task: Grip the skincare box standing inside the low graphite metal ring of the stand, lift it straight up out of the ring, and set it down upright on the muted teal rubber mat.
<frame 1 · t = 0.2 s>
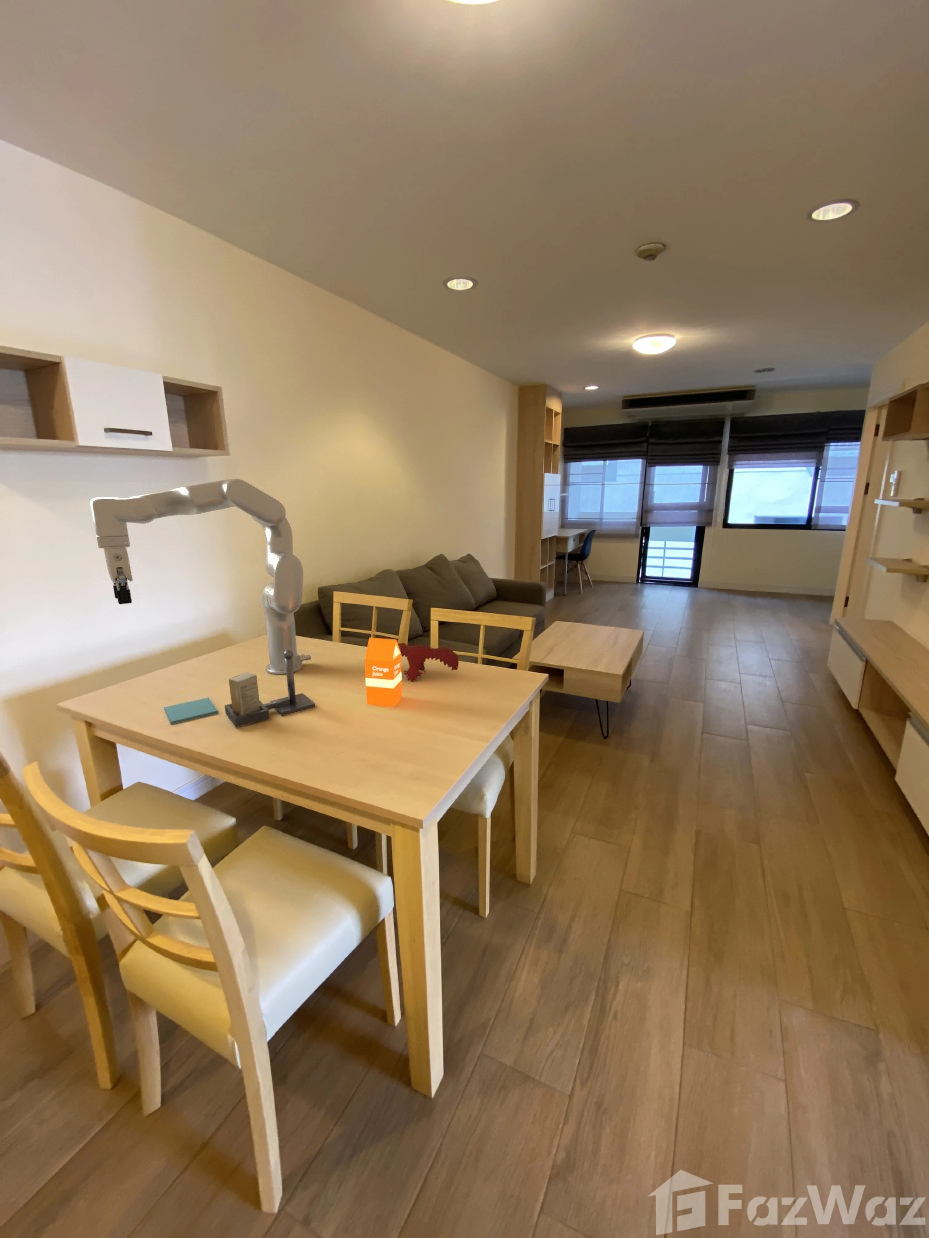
hand: (123, 600, 147), 31 cm above the table, fingers open, 9 cm apart
orange juice: (384, 701, 155), on the table
ring stand: (247, 717, 142), on the table
teal mat: (190, 711, 146), on the table
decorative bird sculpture: (418, 676, 176), on the table
skincare box: (247, 717, 142), resting in ring stand
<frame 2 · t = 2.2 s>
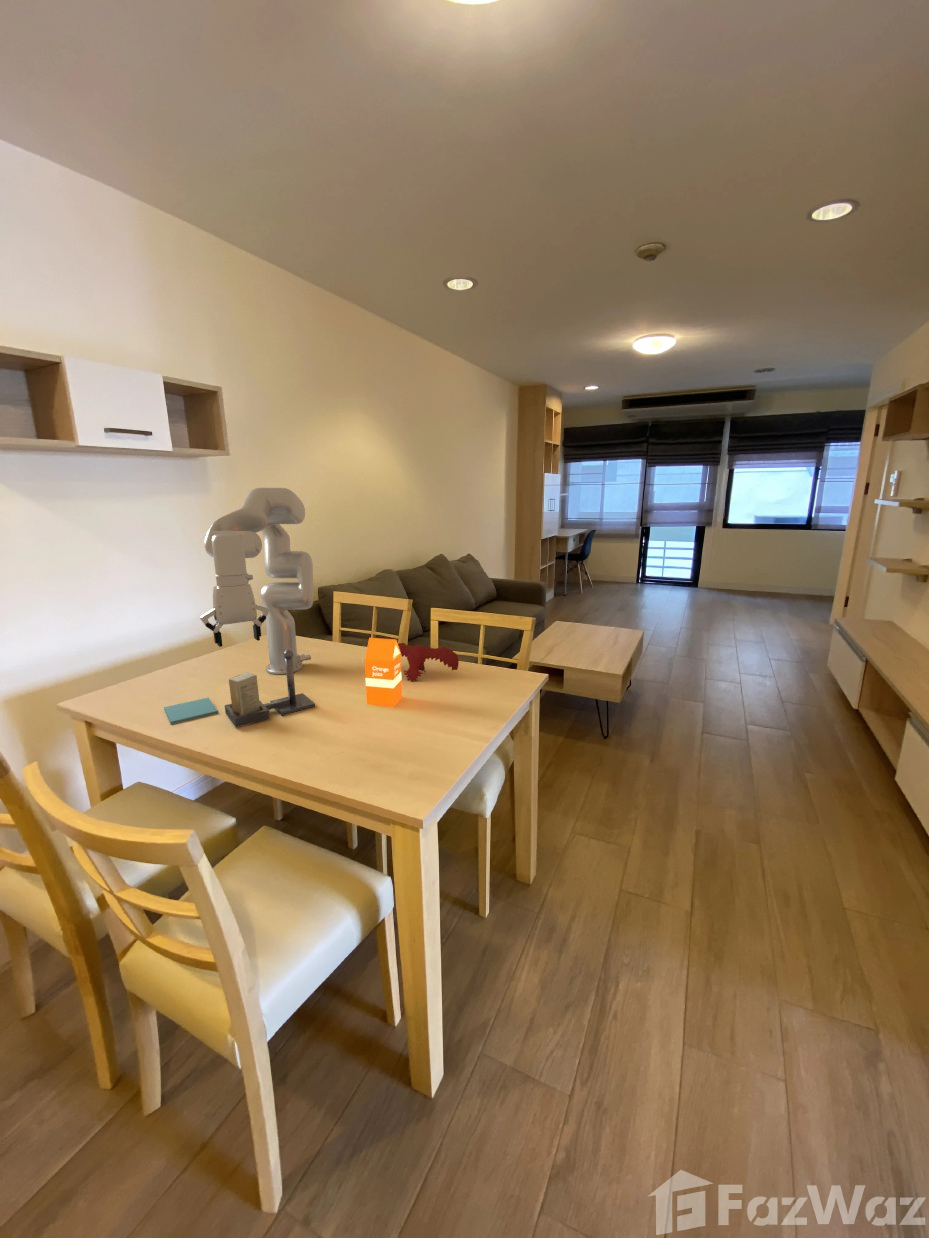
hand: (238, 642, 137), 22 cm above the table, fingers open, 9 cm apart
nothing on the table moved.
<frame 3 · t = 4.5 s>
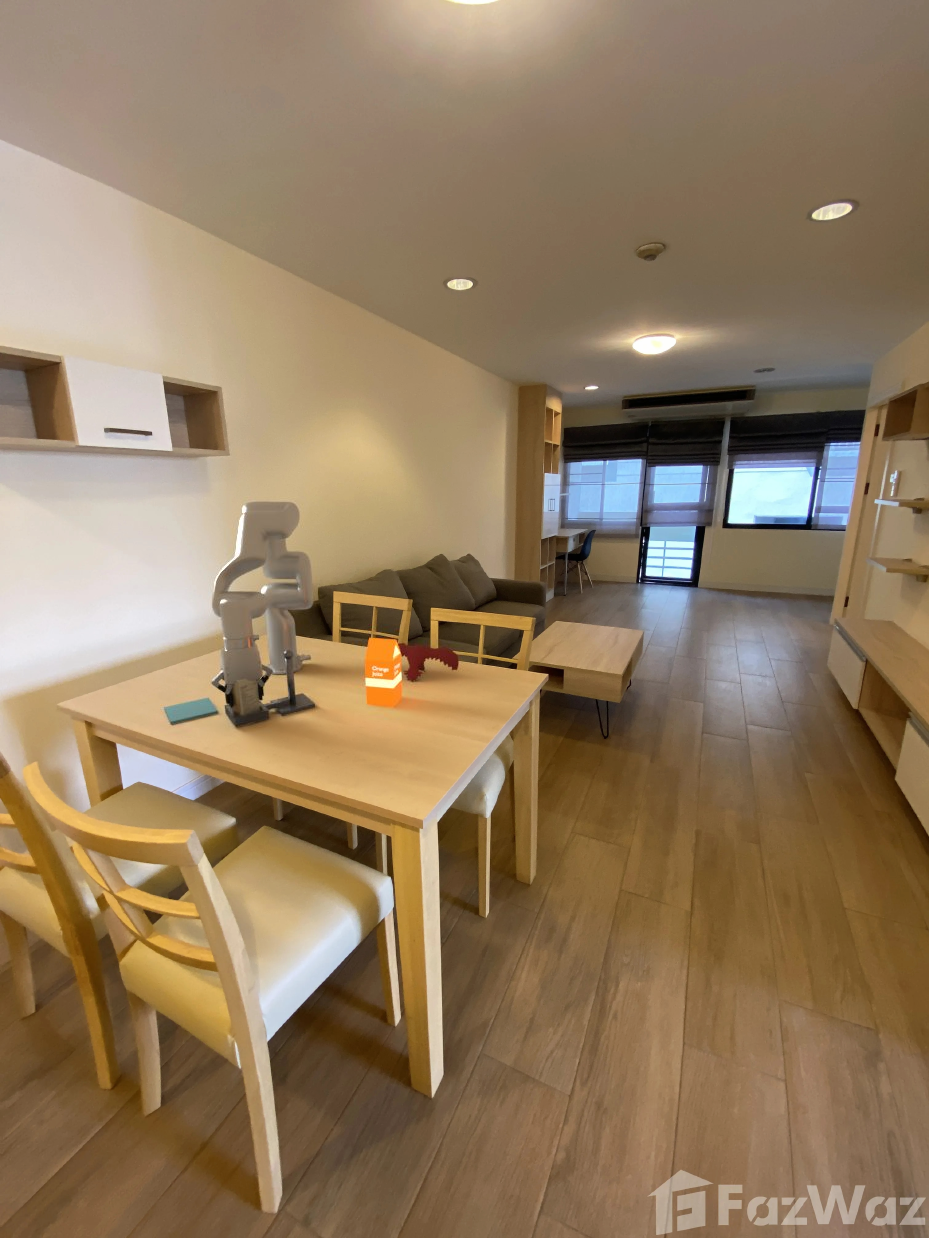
hand: (245, 701, 141), 5 cm above the table, fingers closed on skincare box, 7 cm apart
skincare box: (247, 717, 142), resting in ring stand, touching gripper
everything else where it was.
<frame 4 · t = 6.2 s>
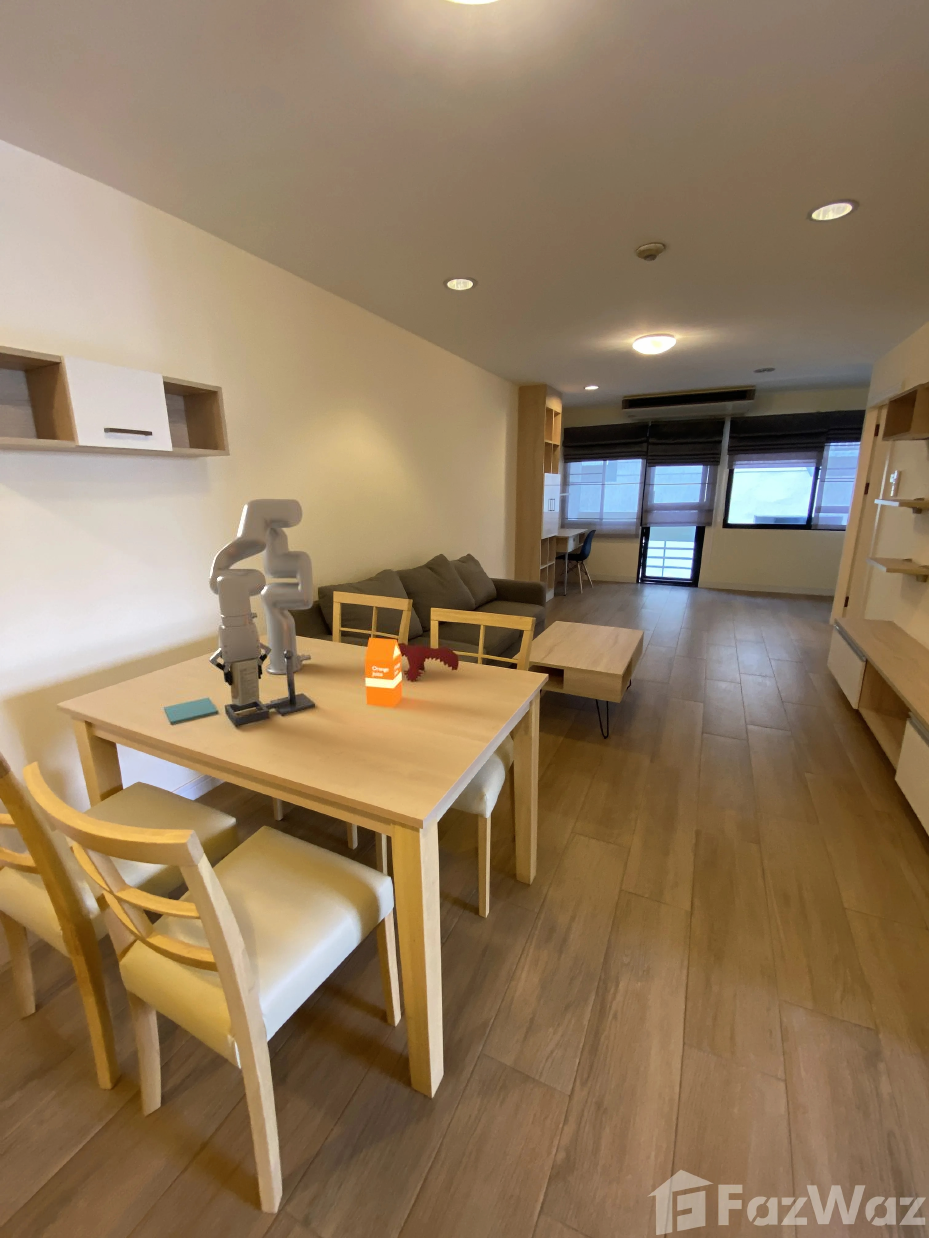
hand: (244, 680, 140), 11 cm above the table, fingers closed on skincare box, 7 cm apart
skincare box: (245, 702, 141), point 5 cm above the table, touching gripper
everything else where it was.
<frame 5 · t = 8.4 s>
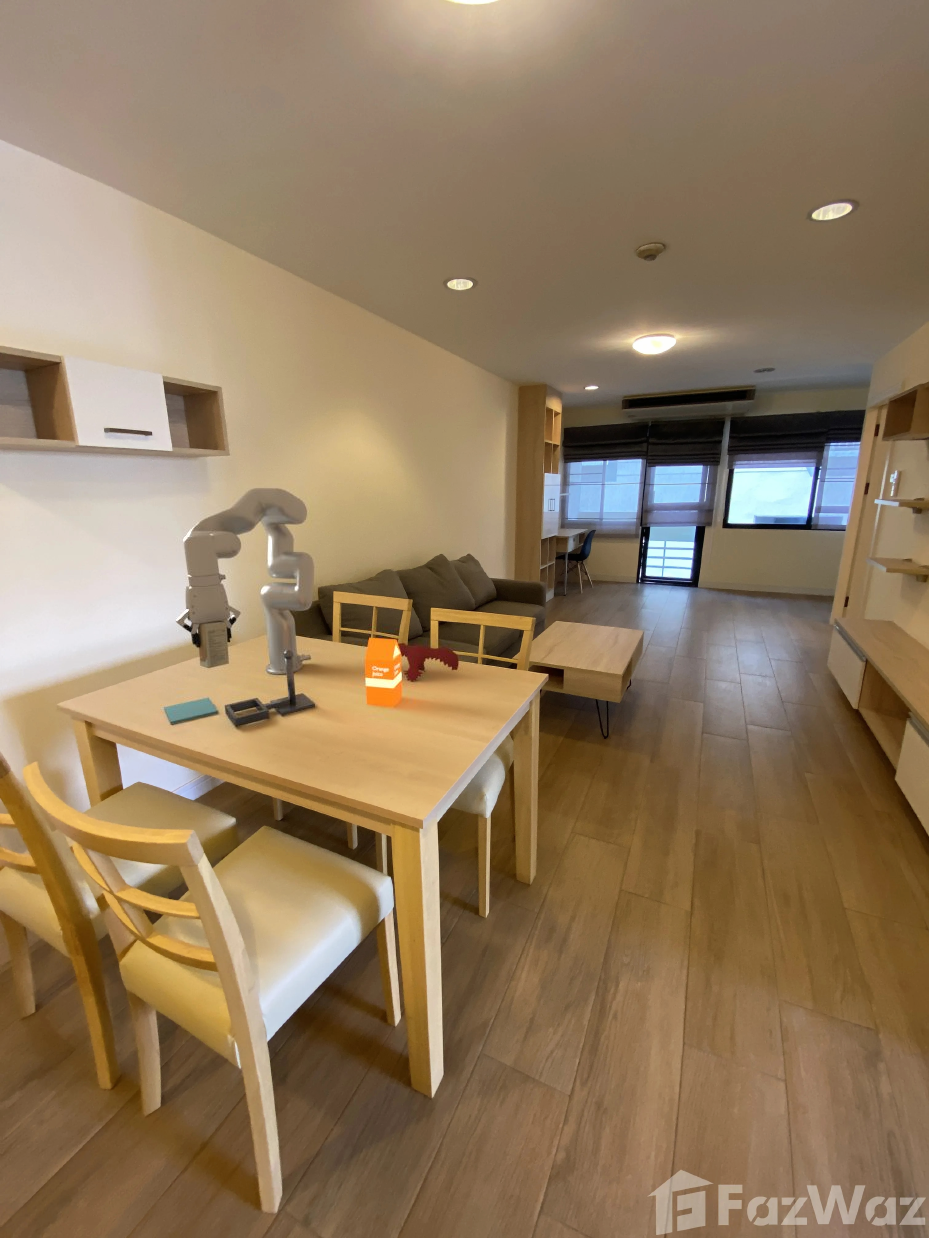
hand: (212, 643, 139), 21 cm above the table, fingers closed on skincare box, 7 cm apart
skincare box: (214, 665, 139), point 15 cm above the table, touching gripper
everything else where it was.
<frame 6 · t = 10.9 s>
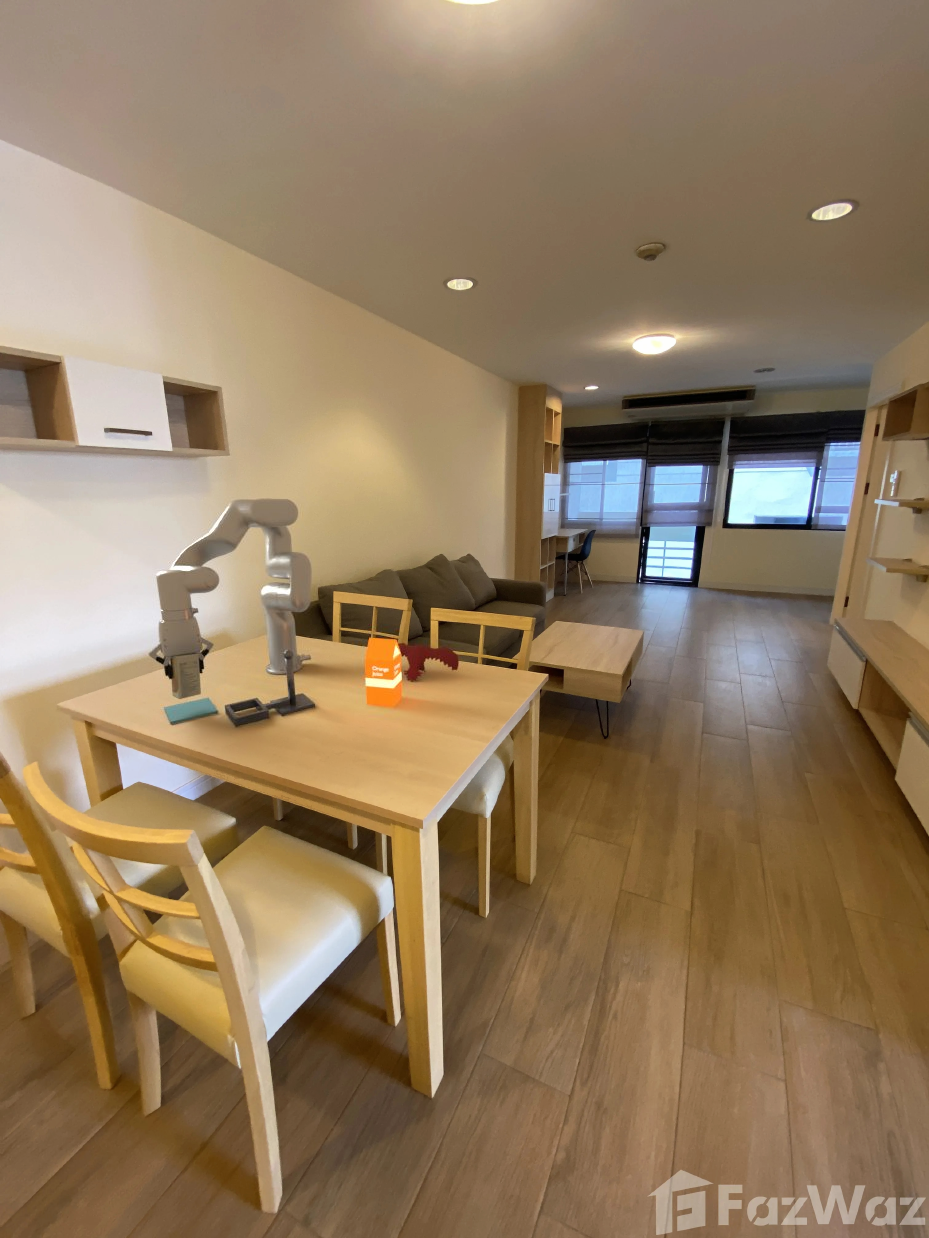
hand: (185, 674, 143), 12 cm above the table, fingers closed on skincare box, 7 cm apart
skincare box: (186, 696, 143), point 5 cm above the table, touching gripper
everything else where it was.
when the fingers open (7 cm above the table, at t = 12.4 s): skincare box stays where it is, resting on teal mat.
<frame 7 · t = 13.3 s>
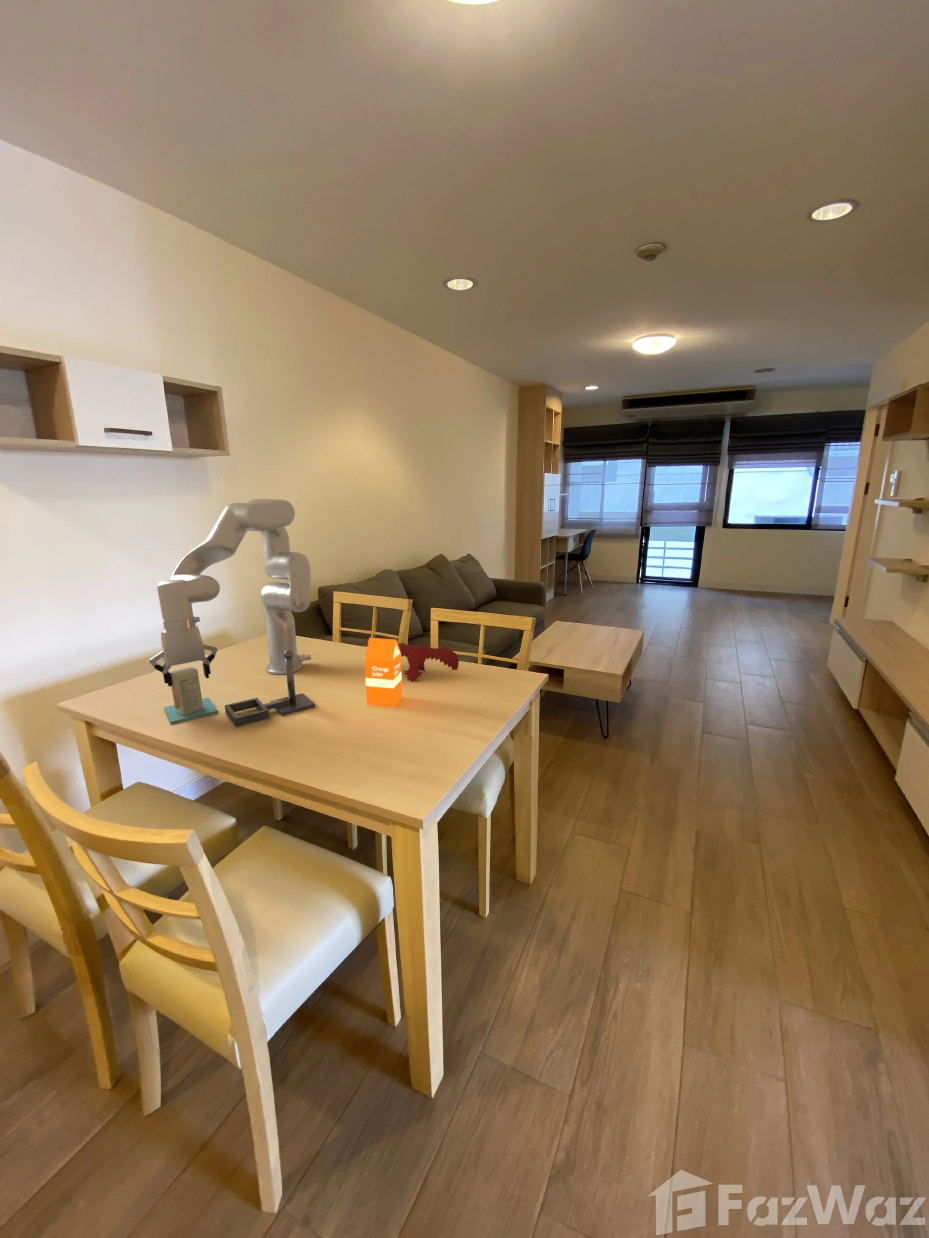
hand: (188, 680, 144), 9 cm above the table, fingers open, 9 cm apart
skincare box: (189, 711, 145), point 1 cm above the table, touching gripper, teal mat
everything else where it was.
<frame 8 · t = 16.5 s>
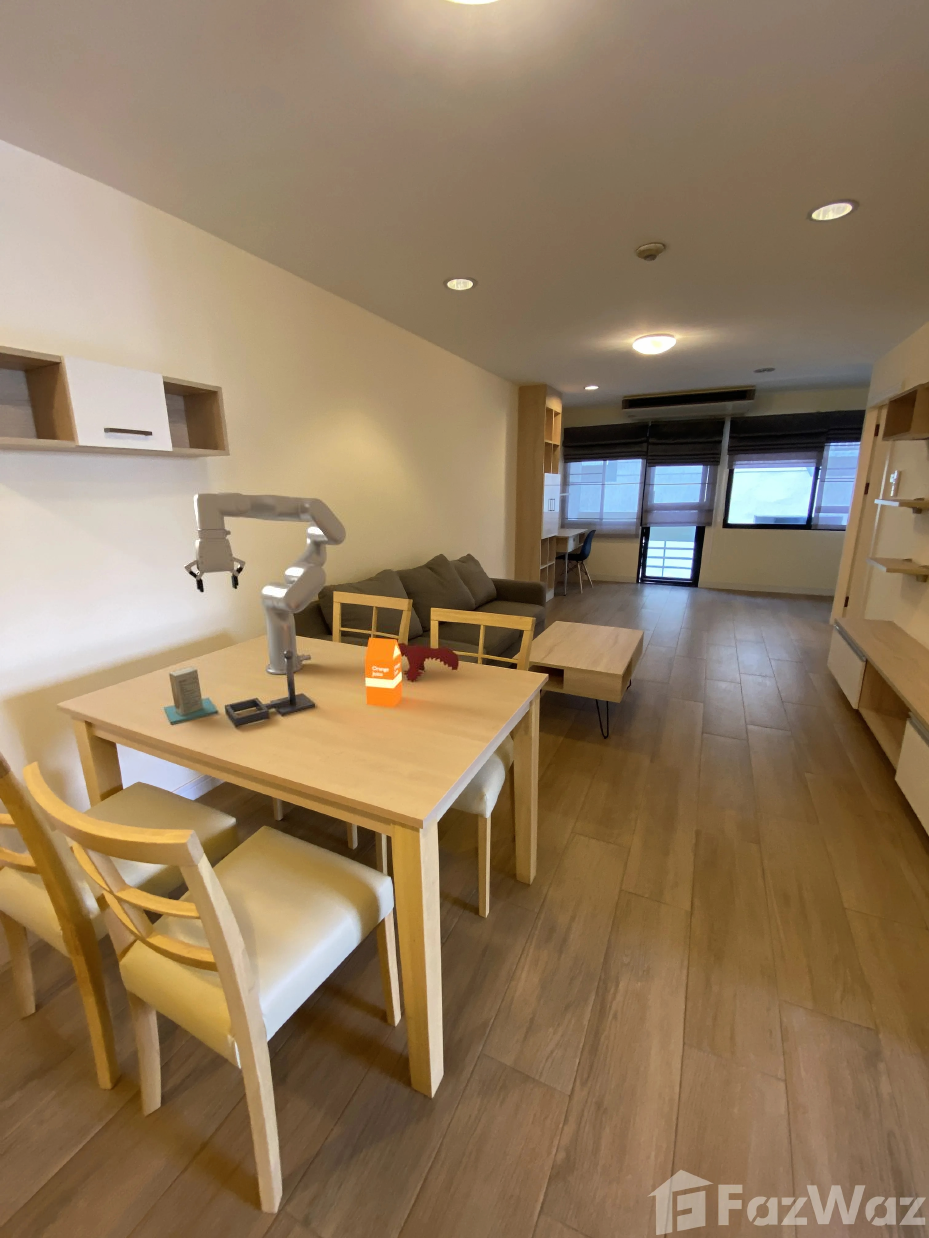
hand: (218, 590, 157), 32 cm above the table, fingers open, 9 cm apart
skincare box: (189, 711, 145), point 1 cm above the table, touching teal mat
everything else where it was.
at the end: skincare box inside the target area on the teal mat (1.0 cm from its centre), point 0.6 cm above the teal mat's base; skincare box tilted 0°; the gripper is holding nothing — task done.
